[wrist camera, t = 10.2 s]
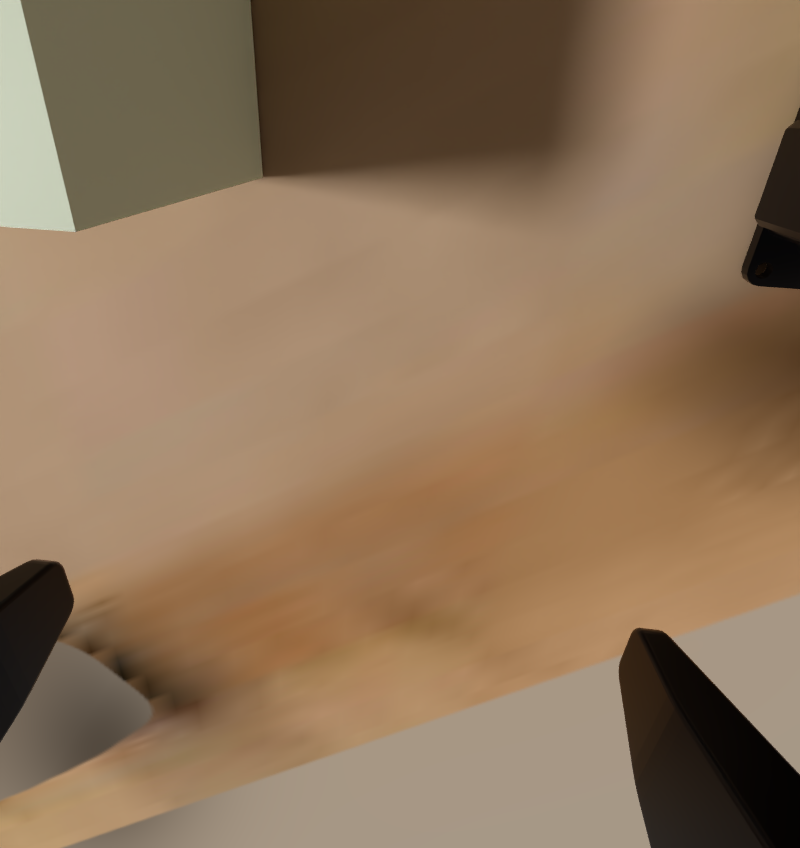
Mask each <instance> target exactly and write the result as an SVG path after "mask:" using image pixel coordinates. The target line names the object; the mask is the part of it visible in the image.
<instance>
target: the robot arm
mask: <svg viewBox="0 0 800 848" xmlns="http://www.w3.org/2000/svg"><path fill="white" fill-rule="evenodd" d="M755 219H756V221H757V223H758V224H757V227H756V230H755V233H754V235H753V238H752V241H751V244H750V246H749V249H748V252H747V255H746V257H745V260H744V263H743V266H742V271H741V273H742V276H743V278H744V279H745V280H746V281H747V282H749V283H751V284H753V285H756V286H765V287H779V288H793V289H800V108H799V111H798V113H797V116H796V119H795V122H794V123H793V124H792V125H791V126H789V127H788V128H787V129H786V130H785V133H784V135H783V138H782V141H781V144H780V147H779V149H778V152H777V155H776V158H775V161H774V164H773V166H772V169H771V172H770V175H769V178H768V180H767V183H766V186H765V189H764V192H763V194H762V197H761V200H760V203H759V206H758V208H757V211H756V214H755ZM762 263H766V264H767V266H766V269H765V271H764V272H763V273H761V274H760V275H756V274H755V272H756V269H757V267H758V266H759V265H760V264H762ZM73 604H74V597H73V593H72V591H71V588H70V585H69V582H68V579H67V576H66V573H65V570H64V568H63V566H62V565H61V564H60V563H59V562H56V561H48V560H38V559H36V560H31V561H28V562H26V563H24V564H22V565H20V566H18V567H16V568H14V569H12V570H11V571H9V572H7V573H5V574H3V575H1V576H0V742H1V740H2V739H3V737H4V736H5V734H6V733H7V731H8V729H9V728H10V726H11V725H12V723H13V722H14V720H15V718H16V716H17V715H18V713H19V712H20V710H21V708H22V707H23V705H24V703H25V701H26V699H27V697H28V695H29V694H30V692H31V690H32V688H33V686H34V684H35V683H36V681H37V679H38V677H39V675H40V673H41V671H42V669H43V667H44V665H45V663H46V661H47V659H48V657H49V655H50V653H51V651H52V649H53V647H54V645H55V643H56V641H57V640H58V638H59V636H60V634H61V632H62V630H63V628H64V626H65V624H66V622H67V620H68V618H69V616H70V614H71V612H72V609H73ZM619 681H620V687H621V694H622V701H623V708H624V714H625V721H626V728H627V734H628V741H629V748H630V755H631V761H632V768H633V774H634V779H635V785H636V789H637V794H638V798H639V802H640V806H641V810H642V814H643V818H644V822H645V826H646V830H647V834H648V838H649V842H650V846H651V848H800V774H799V773H798V772H797V771H796V770H795V769H794V768H793V767H792V766H791V765H790V764H789V763H788V762H787V761H786V760H785V758H784V757H783V756H782V755H781V754H780V753H779V752H778V751H777V750H776V749H775V748H774V747H773V746H772V745H771V744H770V743H769V742H768V740H766V738H765V737H764V736H763V735H762V734H761V733H760V732H759V731H758V730H757V729H756V728H755V727H754V726H753V725H752V723H751V722H750V721H749V720H748V719H747V718H746V717H745V716H744V715H743V714H742V713H741V712H740V711H739V710H738V709H737V708H736V707H735V705H734V704H733V703H732V702H731V701H730V700H729V699H728V698H727V697H726V696H725V695H724V694H723V693H722V692H721V691H720V690H719V689H718V688H717V686H715V684H713V682H712V681H711V680H710V679H709V678H708V677H707V676H706V675H705V674H704V673H703V672H702V671H701V670H700V669H699V667H698V666H697V665H696V664H695V663H694V662H693V661H692V660H691V659H690V658H689V657H688V656H687V655H686V654H685V653H684V652H683V650H682V649H681V648H680V647H678V645H677V644H676V643H675V642H674V641H673V640H672V639H671V638H670V637H669V636H668V635H667V634H666V633H664V632H663V631H660V630H654V629H645V628H636V629H635V630H634V631H633V632H632V633H631V636H630V638H629V641H628V643H627V645H626V648H625V650H624V653H623V655H622V658H621V661H620V664H619Z"/></svg>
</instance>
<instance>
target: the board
mask: <svg viewBox="0 0 800 848" xmlns="http://www.w3.org/2000/svg"><path fill="white" fill-rule="evenodd" d="M260 178H263V171H262V157H261V143H260V129H259V115H258V100H257V86H256V72H255V58H254V44H253V30H252V15H251V1H250V0H0V227H14V228H28V229H42V230H56V231H71V232H77V231H80V230H84V229H87V228H91V227H94V226H98V225H101V224H105V223H108V222H111V221H115V220H118V219H122V218H125V217H129V216H132V215H136V214H139V213H142V212H146V211H149V210H153V209H156V208H160V207H163V206H167V205H170V204H174V203H177V202H180V201H184V200H187V199H191V198H194V197H198V196H201V195H205V194H208V193H211V192H215V191H218V190H222V189H225V188H229V187H232V186H236V185H239V184H243V183H246V182H249V181H253V180H256V179H260Z"/></svg>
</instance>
